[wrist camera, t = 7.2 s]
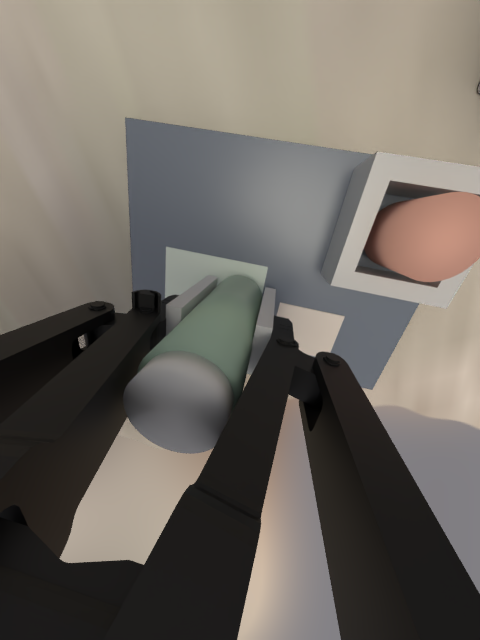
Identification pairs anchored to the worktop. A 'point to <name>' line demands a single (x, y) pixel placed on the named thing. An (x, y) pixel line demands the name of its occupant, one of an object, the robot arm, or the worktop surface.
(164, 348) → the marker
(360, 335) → the button panel board
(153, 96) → the worktop surface
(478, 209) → the button
